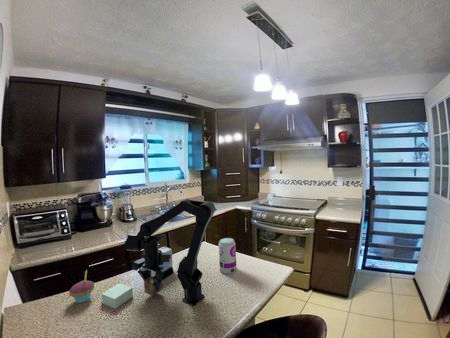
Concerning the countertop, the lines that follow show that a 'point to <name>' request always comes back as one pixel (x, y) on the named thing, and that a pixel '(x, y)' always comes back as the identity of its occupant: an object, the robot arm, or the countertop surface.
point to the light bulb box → (168, 251)
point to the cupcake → (82, 290)
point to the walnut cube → (151, 286)
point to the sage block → (117, 295)
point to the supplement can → (227, 255)
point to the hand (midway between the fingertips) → (153, 288)
